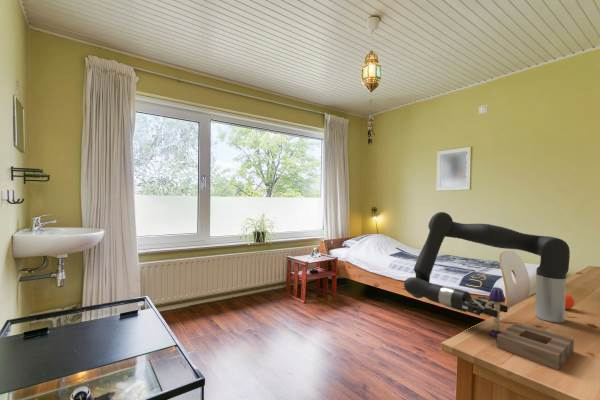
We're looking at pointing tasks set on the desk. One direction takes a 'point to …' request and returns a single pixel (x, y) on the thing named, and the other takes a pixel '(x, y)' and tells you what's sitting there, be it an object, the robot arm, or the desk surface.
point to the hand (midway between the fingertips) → (502, 311)
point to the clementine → (568, 301)
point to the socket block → (536, 344)
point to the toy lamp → (496, 308)
